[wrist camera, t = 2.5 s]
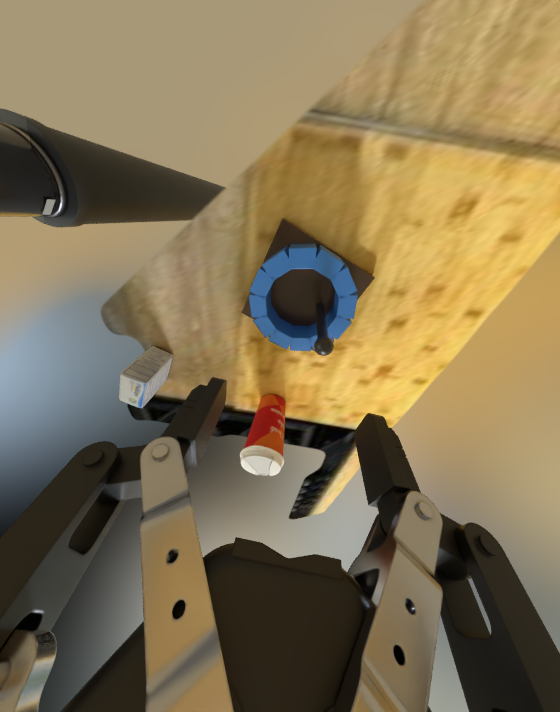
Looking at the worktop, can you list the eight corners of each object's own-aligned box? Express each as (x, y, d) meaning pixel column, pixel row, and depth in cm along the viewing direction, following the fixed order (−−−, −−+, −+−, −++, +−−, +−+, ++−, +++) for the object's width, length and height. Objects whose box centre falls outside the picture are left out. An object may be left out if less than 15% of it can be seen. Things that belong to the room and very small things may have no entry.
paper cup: (292, 414, 46) (286, 479, 35) (259, 414, 48) (244, 476, 36) (287, 389, 42) (279, 454, 30) (252, 390, 43) (232, 452, 32)
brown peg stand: (243, 309, 33) (210, 355, 22) (283, 217, 25) (264, 219, 14) (315, 348, 35) (318, 406, 25) (372, 275, 27) (413, 313, 17)
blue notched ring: (242, 312, 32) (235, 323, 28) (283, 220, 24) (279, 221, 21) (315, 350, 34) (316, 364, 31) (372, 278, 27) (381, 287, 23)
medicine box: (152, 344, 39) (118, 372, 32) (174, 354, 40) (146, 384, 33) (148, 370, 44) (117, 400, 37) (168, 379, 44) (141, 409, 37)
